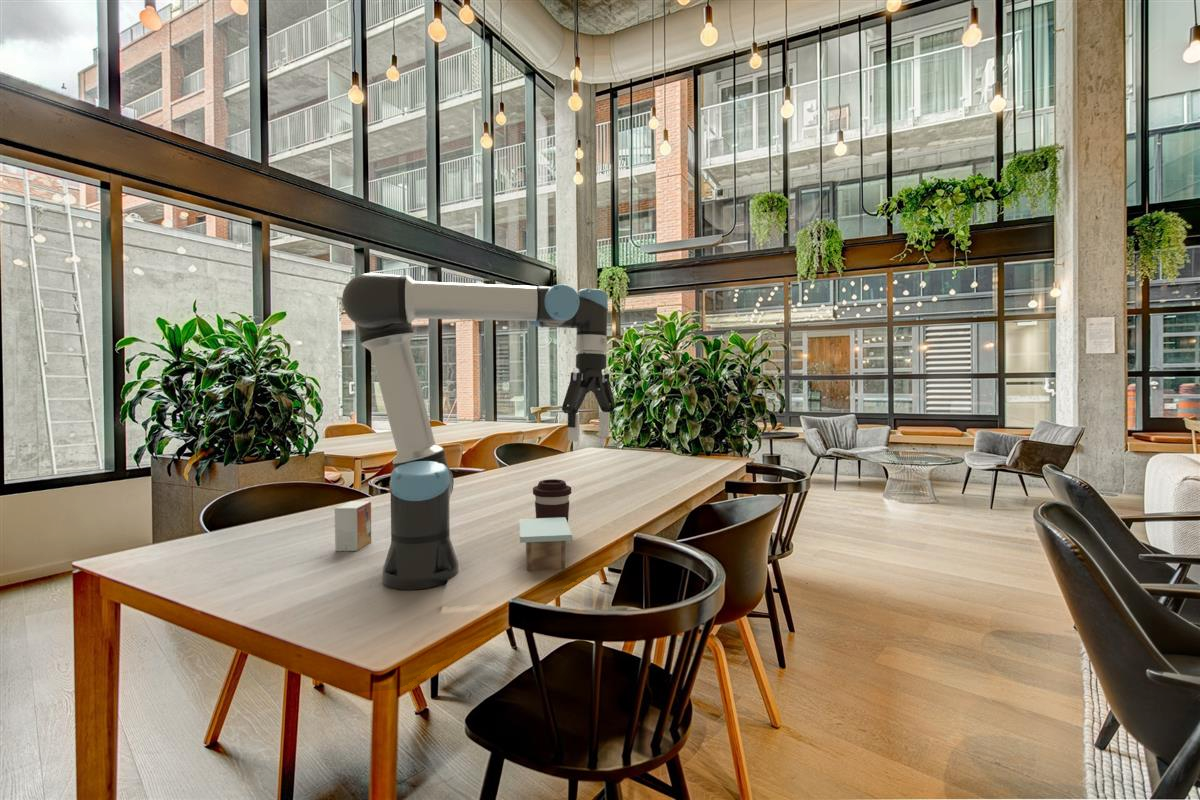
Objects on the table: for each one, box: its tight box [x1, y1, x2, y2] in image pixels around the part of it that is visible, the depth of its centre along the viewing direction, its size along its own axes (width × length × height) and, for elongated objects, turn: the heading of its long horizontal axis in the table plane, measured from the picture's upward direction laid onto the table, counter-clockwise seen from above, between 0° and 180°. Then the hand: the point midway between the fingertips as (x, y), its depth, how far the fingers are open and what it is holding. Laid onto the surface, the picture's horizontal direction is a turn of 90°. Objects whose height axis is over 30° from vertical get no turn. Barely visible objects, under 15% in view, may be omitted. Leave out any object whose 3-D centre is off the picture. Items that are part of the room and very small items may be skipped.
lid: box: [519, 517, 573, 544], centre depth 123 cm, size 11×15×2 cm
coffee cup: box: [532, 478, 572, 524], centre depth 141 cm, size 10×10×15 cm
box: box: [525, 541, 566, 572], centre depth 123 cm, size 8×14×7 cm, turn 9°
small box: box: [334, 500, 372, 552], centre depth 134 cm, size 8×6×10 cm
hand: (589, 439), depth 134 cm, fingers open, 13 cm apart
